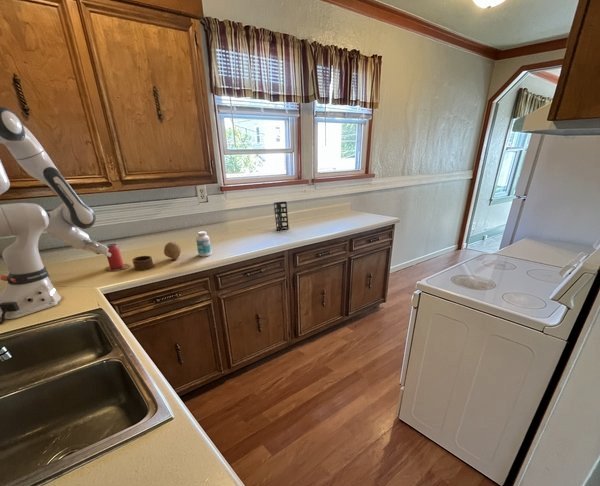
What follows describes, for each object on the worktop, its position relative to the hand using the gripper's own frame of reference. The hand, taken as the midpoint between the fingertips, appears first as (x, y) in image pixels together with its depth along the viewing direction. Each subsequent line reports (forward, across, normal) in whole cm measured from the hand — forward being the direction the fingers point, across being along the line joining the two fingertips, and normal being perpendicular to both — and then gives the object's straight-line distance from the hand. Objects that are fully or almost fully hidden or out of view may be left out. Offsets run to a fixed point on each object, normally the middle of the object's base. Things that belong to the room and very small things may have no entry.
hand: (104, 254), depth 167 cm
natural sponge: (+27, -15, -15) cm, 34 cm away
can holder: (+15, -12, -2) cm, 19 cm away
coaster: (+10, 0, +3) cm, 10 cm away
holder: (+94, -27, -82) cm, 128 cm away
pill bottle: (+38, -24, -25) cm, 52 cm away
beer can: (+9, +1, +3) cm, 10 cm away
